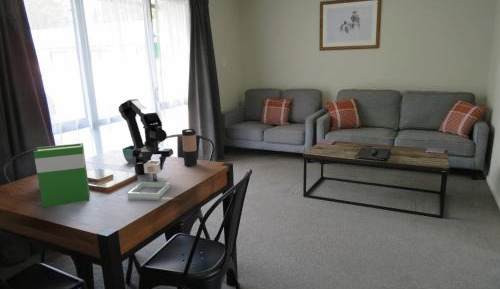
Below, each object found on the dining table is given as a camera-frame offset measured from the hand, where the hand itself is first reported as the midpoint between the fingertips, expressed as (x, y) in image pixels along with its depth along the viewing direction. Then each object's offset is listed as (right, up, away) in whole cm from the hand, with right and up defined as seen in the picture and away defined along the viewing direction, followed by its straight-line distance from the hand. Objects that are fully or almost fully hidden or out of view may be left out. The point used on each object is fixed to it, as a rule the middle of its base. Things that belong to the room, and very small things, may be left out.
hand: (154, 169), depth 174 cm
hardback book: (-32, -12, -20) cm, 40 cm away
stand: (+1, -7, 0) cm, 7 cm away
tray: (+2, -10, -14) cm, 17 cm away
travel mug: (+13, +1, +29) cm, 32 cm away
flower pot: (-21, +2, +36) cm, 42 cm away
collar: (0, -1, 0) cm, 1 cm away
